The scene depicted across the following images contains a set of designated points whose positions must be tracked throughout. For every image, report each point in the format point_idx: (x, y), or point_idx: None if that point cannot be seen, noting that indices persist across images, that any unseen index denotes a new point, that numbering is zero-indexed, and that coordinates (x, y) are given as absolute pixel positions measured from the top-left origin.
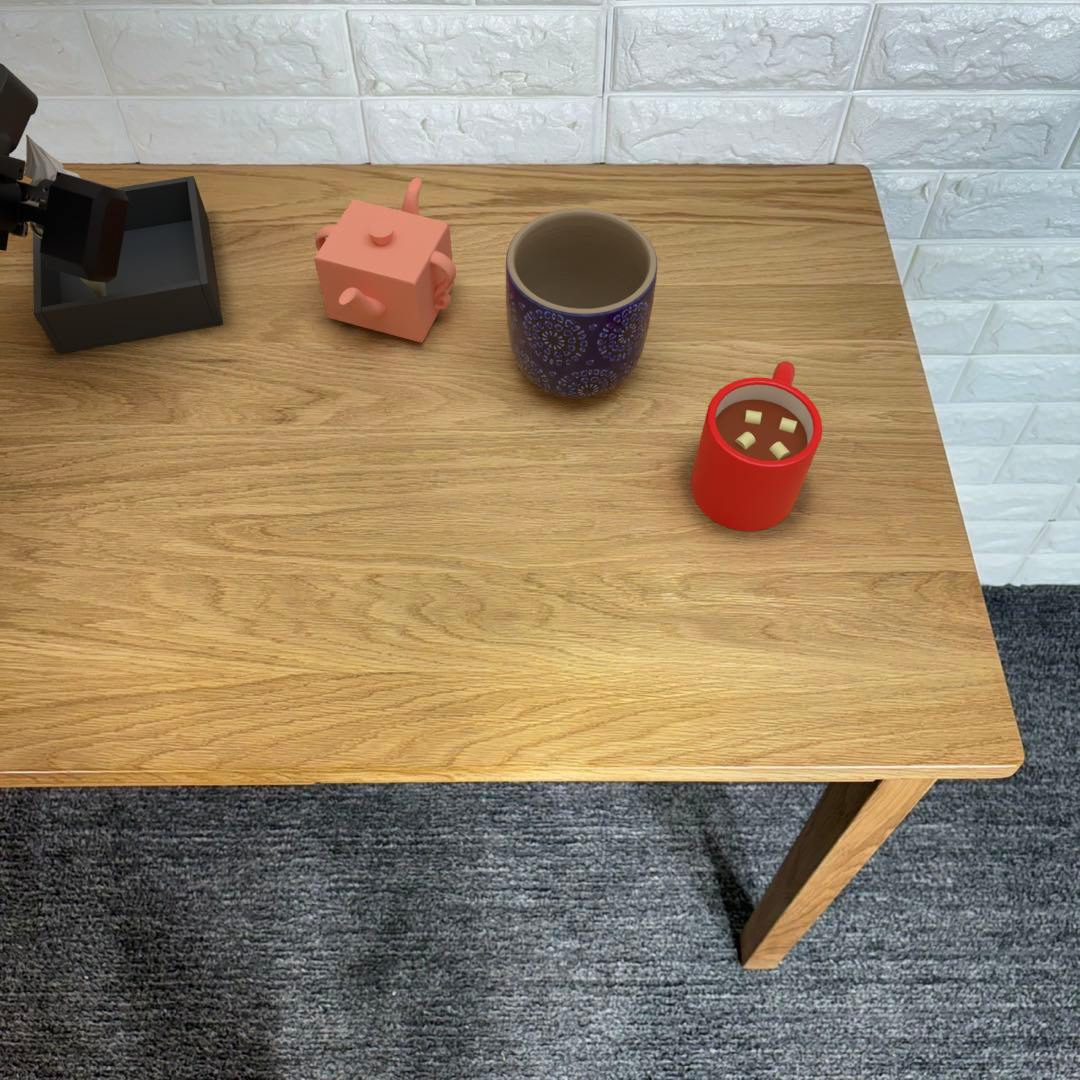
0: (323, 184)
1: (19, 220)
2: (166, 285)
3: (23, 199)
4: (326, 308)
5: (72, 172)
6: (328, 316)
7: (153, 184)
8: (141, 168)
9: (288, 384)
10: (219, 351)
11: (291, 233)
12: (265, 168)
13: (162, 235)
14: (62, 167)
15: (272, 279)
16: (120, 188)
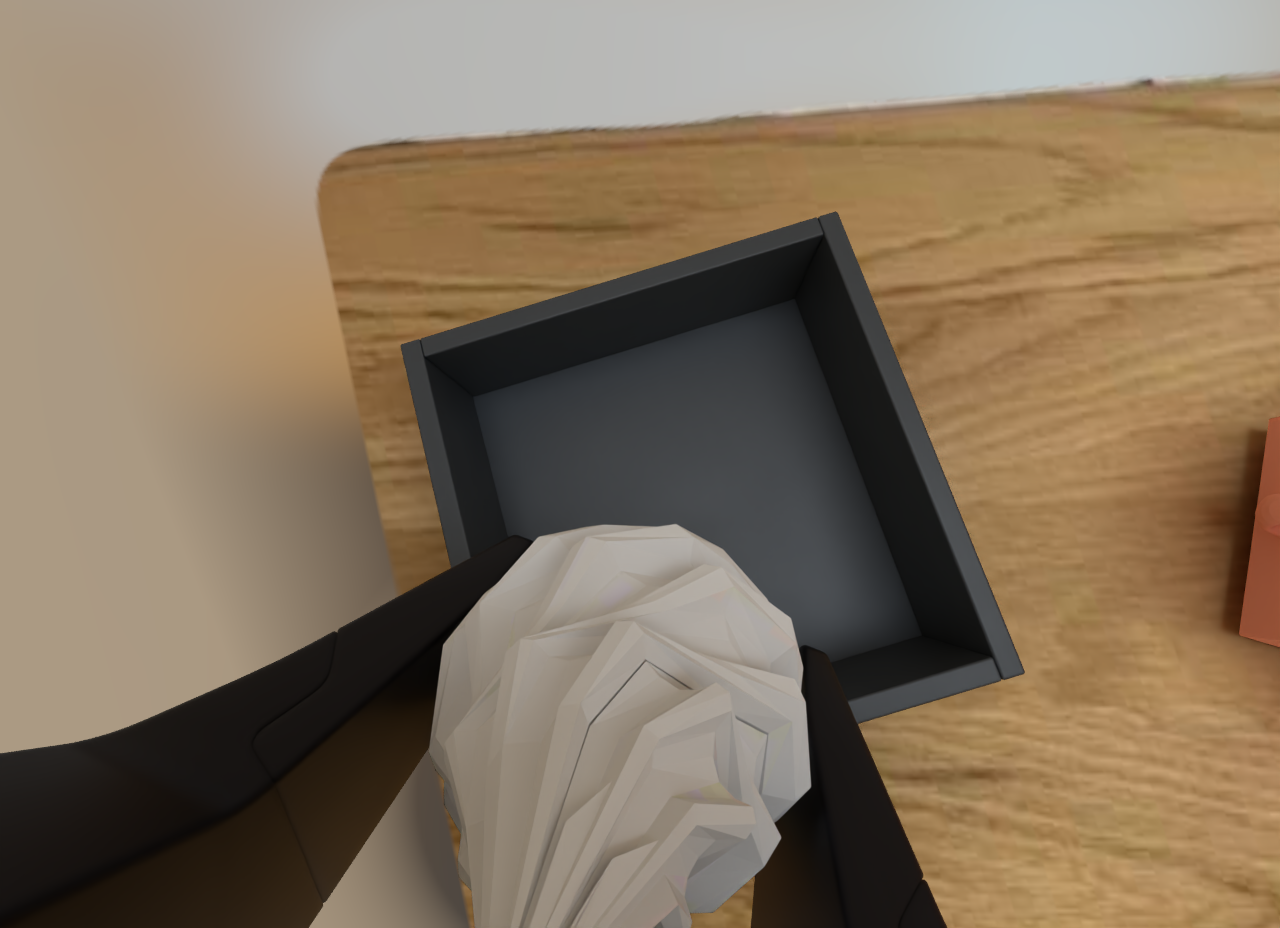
0: (1053, 157)
1: (430, 737)
2: (895, 690)
3: (432, 677)
4: (1277, 640)
5: (708, 582)
6: (1244, 635)
7: (728, 254)
8: (601, 141)
9: (1173, 860)
10: (953, 740)
11: (1021, 323)
12: (894, 117)
13: (716, 361)
14: (731, 718)
15: (1018, 481)
16: (636, 277)
